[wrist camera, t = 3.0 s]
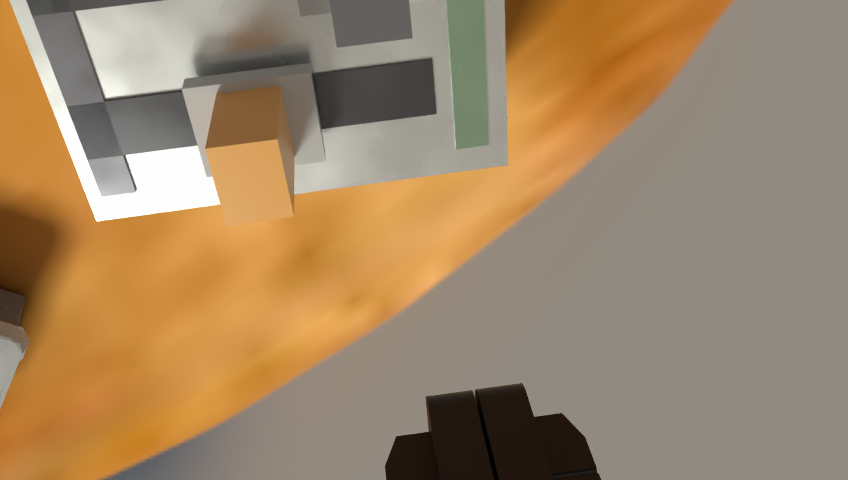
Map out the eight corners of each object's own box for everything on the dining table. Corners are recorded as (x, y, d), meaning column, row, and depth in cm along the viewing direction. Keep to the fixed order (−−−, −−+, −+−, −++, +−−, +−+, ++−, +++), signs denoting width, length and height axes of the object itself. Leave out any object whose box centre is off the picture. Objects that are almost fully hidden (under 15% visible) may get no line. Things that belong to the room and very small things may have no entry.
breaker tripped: (184, 78, 25) (165, 143, 21) (310, 62, 25) (311, 124, 21) (208, 165, 27) (194, 238, 23) (325, 149, 27) (329, 220, 23)
